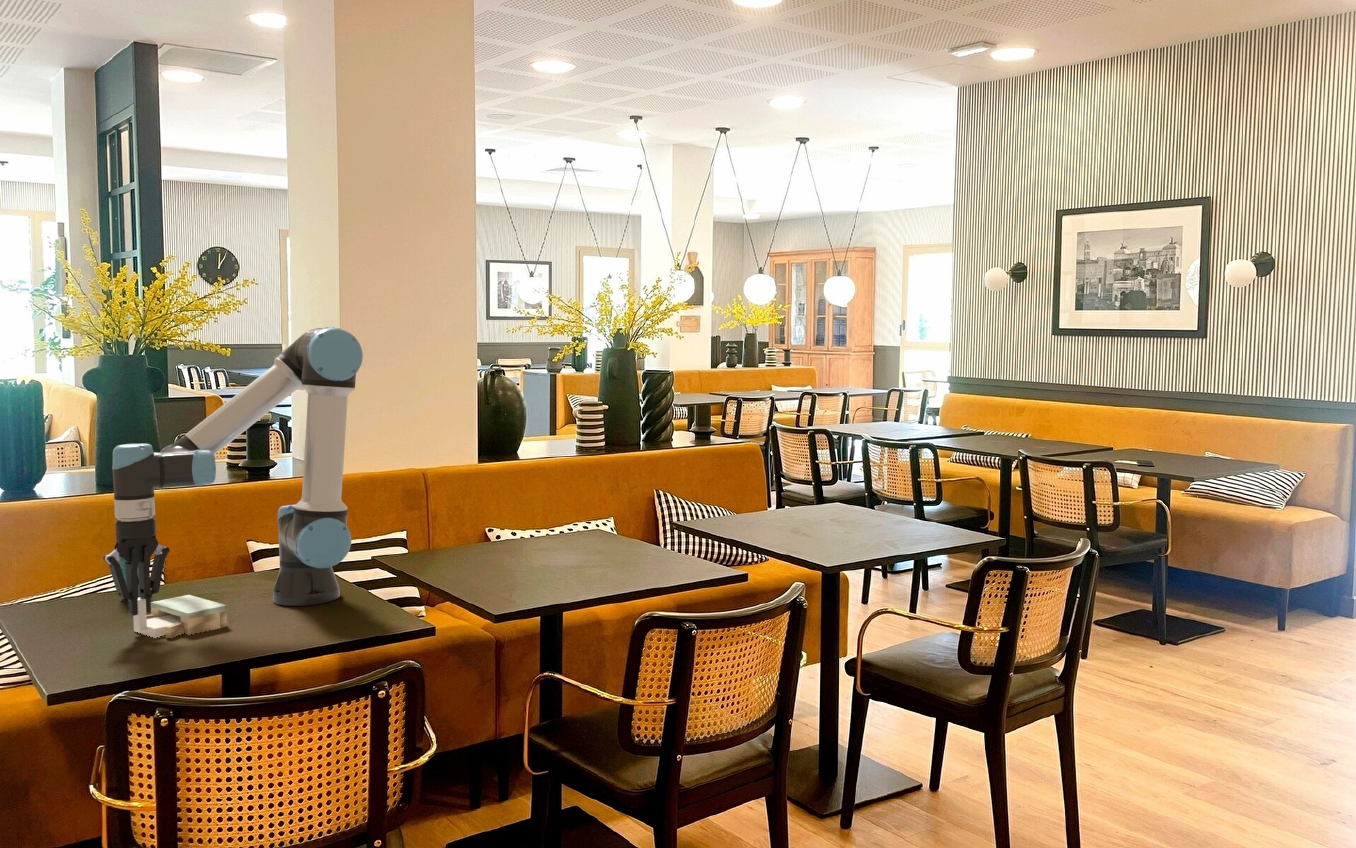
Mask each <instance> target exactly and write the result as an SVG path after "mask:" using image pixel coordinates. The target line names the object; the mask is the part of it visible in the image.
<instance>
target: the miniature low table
mask: <svg viewBox="0 0 1356 848" xmlns="http://www.w3.org/2000/svg"><path fill="white" fill-rule="evenodd" d="M227 607H228V606H227V605H226V604H224V603H220V602H216V601H212V600H209V599H205V598H202V597H198V596H195V595H191V594H185V595H182V596H175V597H171V598H166V599H160V600H156V601H150V612H151V613H149V614H146V616H147V619H151V618H155V617H160V616H165V615H170V614H173V615H176V616H180V617H181V622H179V623H176V624H173V625H170V626H167V627H165V630H166V636H165V639H167V638H171V639H173V637H174V638H177V637H179V636H178V635H180V636H182V635H181V634H183V635H186V634H187V636H192V635H196V634H195V633H197V634H200V632H201V633H204V632H205V631H206V632H209V630H210V631H214V630H219V629H222V628H226V627H228V613H227V611H228V610H227V609H228V608H227ZM206 632H205V633H206ZM184 633H185V634H184ZM191 634H192V635H191ZM176 636H177V637H176Z"/></svg>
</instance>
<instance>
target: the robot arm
mask: <svg viewBox="0 0 1356 848" xmlns="http://www.w3.org/2000/svg"><path fill="white" fill-rule="evenodd" d="M363 357H364V354H363V349H362V346H361V344H360V342H359V341H358V339H357V338H356V337H355V336H354V335H353V334H352V333H350V332H349V331H347V330H345V329H341V328H338V327H336V326H335V327H334V326H332V327H327V326H326V327H318V328H317V327H316V328H313V329H309V330H308V331H306V332H304V333H302V335H300V336H299V337H298V338H296V339H295V340H294V342H292V343H291V344H290V345H289V346H288V347H287V348H286V349H285V350H284V351H282V352H281V353H280V354H279V355H277V356H276V357H275V358H274V362H273V363H274V364H273V365H272V366H271V367H270V368H268V369H267V370H265V371H264V372H262V373H261V375H260V376H258V377H257V378H255V379H254V380H253V381H252V382H251V383H249V384H248V385H246V386H245V387H244V388H242V389H241V390H240V391H239V392H238V393H236V394H235V395H234V396H233V397H231V398H230V399H228V401H227V402H225V403H223V404H222V405H221V406H220V407H218V408H217V409H216V410H215V411H213V412H212V413H211V414H210V415H208V416H207V417H205V418H204V419H203V420H202V421H201V422H199V423H198V424H197V425H195V426H194V427H193V428H192V429H190V430H189V431H188V432H187V433H185V434H184V435H183V436H182V437H180V438H179V439H178V440H177V441H175V442H173V444H169V445H167V446H165V447H164V448H162V449H161V451H160V452H156V451H155V452H154V448H153V446H152V444H150V443H126V444H119V445H116V446H115V447H114V448H113V450H112V466H111V468H112V483H113V498H114V499H113V500H114V501H113V503H114V506H113V507H114V518H116V519H117V520H116V521H115V522H114V523H115V539H116V542H115V545H114V548H113V550H112V552H110V553H108V554H104V555H103V557H102V560H104V562H105V563H106V564H107V565H108V568H109V571H110V574H111V577H112V580H113V583H114V586H115V590H116V592H117V596H118V598H121V599H125V600H127V601H128V613H129V615H130V616H133V617H132V618H133V619H132V620H133V630H134V629H136V630H139V631H142V630H147V616H146V615H147V614H148V613H150V612H151V599H152V598H153V595H155V594H158V593H159V592H160V588H161V587H160V586H161V584H162V579H163V578H162V576H163V572H164V567H165V560H166V559H167V556H168V554H169V552H170V551H171V549H170V547H167V546H164V545H161V544H159V541H158V538H157V522H156V521H157V519H156V518H155V517H154V516H155V515H156V503H155V502H156V501H155V489H163V488H178V487H200V486H206V485H211V484H214V482H215V481H216V476H217V464H216V456H215V455H217V454H218V453H219V452H220V451H221V450H222V449H224V448H225V447H227V446H228V445H230V443H232V442H233V441H234V440H235V439H237V438H238V437H240V435H241V434H243V433H244V432H245V431H247V430H248V429H250V427H252V426H253V425H254V424H255V423H256V422H258V421H259V420H261V419H262V418H263V417H264V416H265V415H267V414H268V413H270V412H271V411H273V409H274V408H276V407H277V406H278V405H279V404H281V403H282V402H283V401H284V400H286V399H287V398H288V397H289V396H291V395H292V394H293V393H294V392H296V391H298V390H299V391H304V390H305V391H306V393H307V406H306V419H305V420H306V421H305V424H306V425H305V438H304V439H305V440H304V455H303V471H302V490H301V498H300V500H299V501H298V502H297V503H296V504H288V505H282V506H280V507H279V508H278V511H277V518H276V520H277V521H276V522H277V526H278V553H279V554H278V556H279V559H278V560H279V571H278V574H277V578H276V581H275V583H274V587H273V590H272V591H273V592H272V602H273V603H274V604H276V605H278V606H279V605H280V606H285V607H287V606H288V607H300V606H314V605H320V604H326V603H329V602H332V601H333V602H334V601H335V600H337V599H339V598H340V597H341V593H340V591H341V590H340V589H341V588H340V585H339V583H338V582H339V581H338V580H337V577H336V574H335V572H334V569H333V567H334V566H336V565H338V564H339V563H341V562H342V561H343V560H344V559H345V558H346V557H347V555H348V554H349V552H350V549H351V546H352V536H351V535H352V534H351V531H350V529H349V527H348V512H349V511H348V510H349V508H348V506H347V505H346V503H344V502H343V500H342V496H343V495H342V493H343V481H344V480H343V478H344V461H345V445H346V443H345V442H346V430H347V427H346V426H347V414H348V413H347V412H348V397H349V395H350V394H351V393H352V392H354V391H355V390H356V381H357V380H356V378H357V373H358V371H359V370H360V369H361V367H362V364H363ZM118 555H119V556H120V557H121V558H122V559H123V560H124V564H125V567H126V583H125V579H124V576H123V573H122V570H121V567H120V564H119V557H118ZM152 555H154V556H153V561H152V566H151V557H152ZM150 566H151V568H150ZM137 568H138V572H139V593H140V594H138V577H137ZM150 569H151V572H150ZM126 584H127V586H126ZM139 596H140V597H139Z"/></svg>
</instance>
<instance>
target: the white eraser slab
mask: <svg viewBox="0 0 1356 848" xmlns="http://www.w3.org/2000/svg"><path fill="white" fill-rule="evenodd" d="M179 622H181V617H180V616H176V615H173V614H170V615H165V616H160V617H155V618H151V619H147V630H142V631H139V630H136V629H134V628H133V632H135V633H137V632H138V634H140V633H141V634H140V635H144V636H146V635H147V636H146V637H149V636H150V638H152V637H153V639H157V637H158V638H161V637H160V636H163V635H166V630H165V627H167V626H170V625H173V624H176V623H179ZM163 637H164V636H163Z"/></svg>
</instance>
